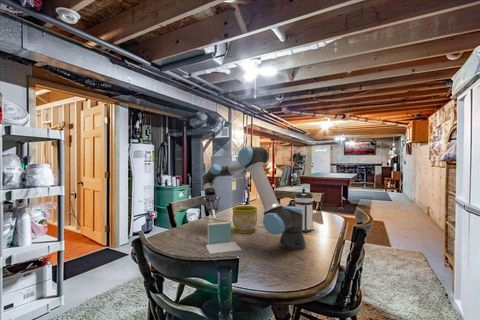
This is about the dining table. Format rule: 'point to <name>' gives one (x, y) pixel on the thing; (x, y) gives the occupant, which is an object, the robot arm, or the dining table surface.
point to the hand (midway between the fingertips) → (214, 219)
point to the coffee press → (305, 208)
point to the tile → (219, 232)
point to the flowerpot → (244, 218)
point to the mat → (222, 247)
